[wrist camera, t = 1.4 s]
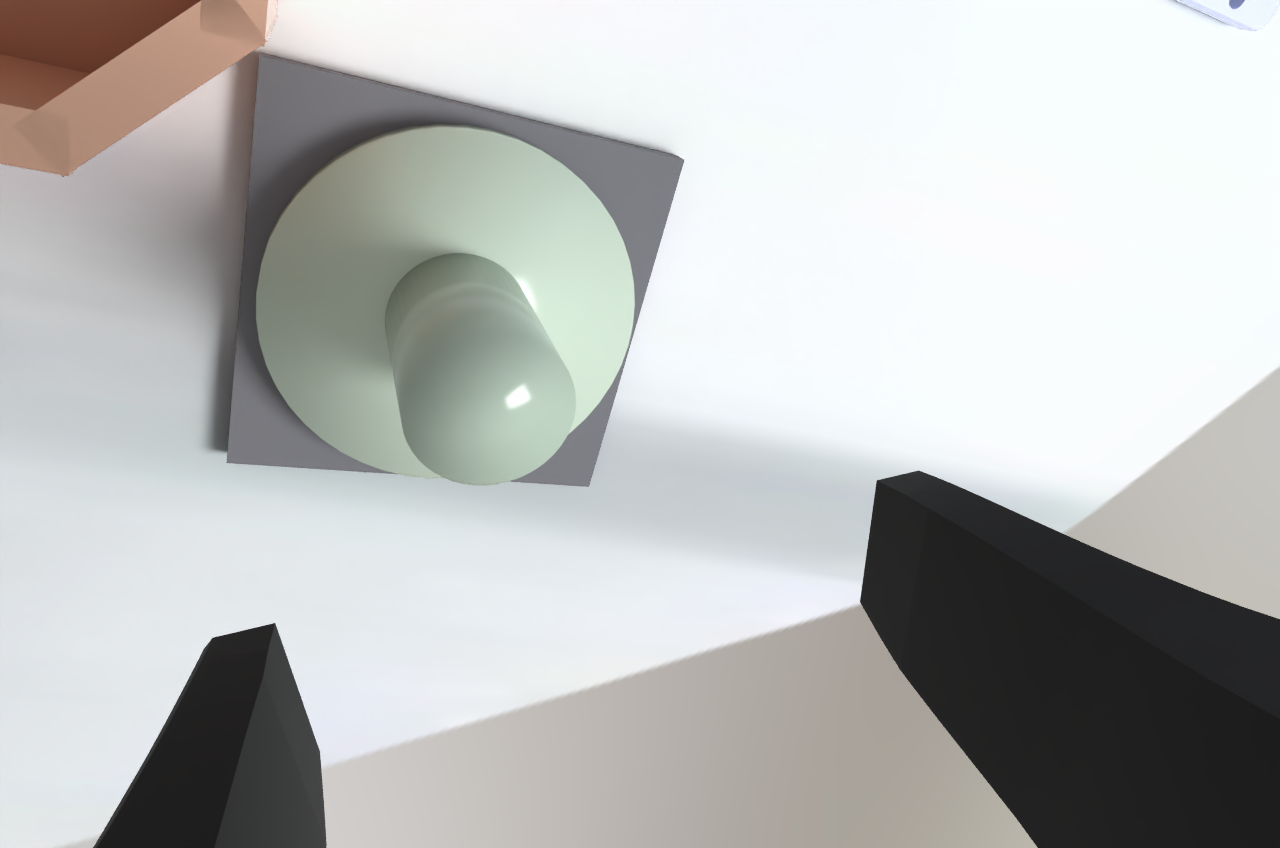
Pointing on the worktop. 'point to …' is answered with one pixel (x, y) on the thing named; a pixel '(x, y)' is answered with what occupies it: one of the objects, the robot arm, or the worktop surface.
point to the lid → (445, 303)
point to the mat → (359, 110)
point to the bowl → (109, 68)
